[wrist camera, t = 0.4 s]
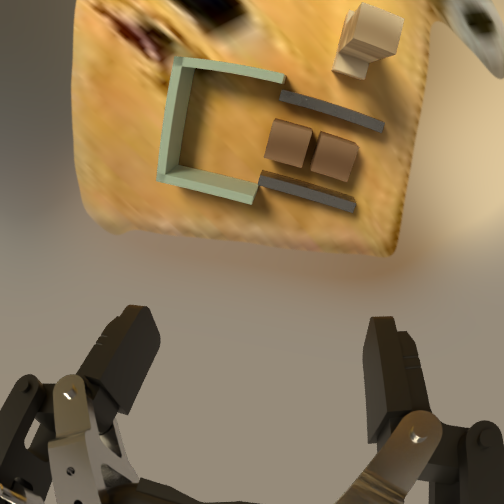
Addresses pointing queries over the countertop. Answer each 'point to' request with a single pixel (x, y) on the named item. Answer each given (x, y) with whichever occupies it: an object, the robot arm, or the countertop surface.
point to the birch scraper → (366, 40)
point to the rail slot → (306, 188)
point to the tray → (174, 129)
